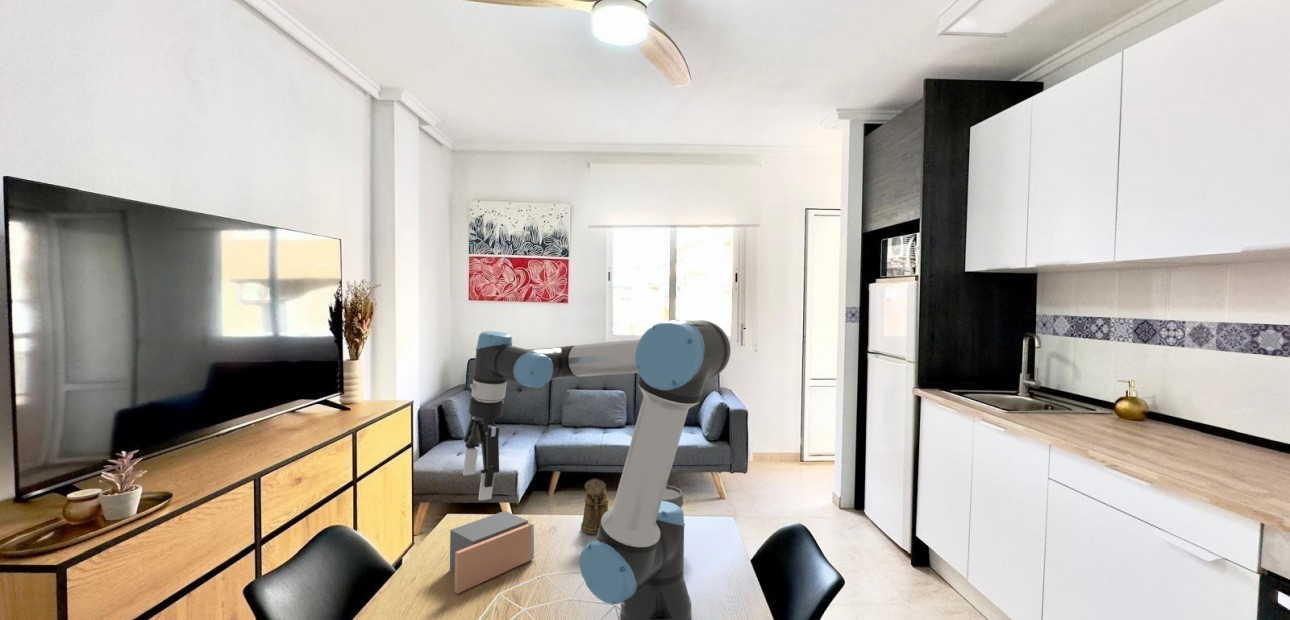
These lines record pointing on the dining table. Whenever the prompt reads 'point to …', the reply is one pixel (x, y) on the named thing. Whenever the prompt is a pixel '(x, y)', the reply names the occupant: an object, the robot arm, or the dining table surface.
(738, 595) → the dining table surface
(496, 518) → the case
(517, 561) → the side door
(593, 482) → the bronze figurine
